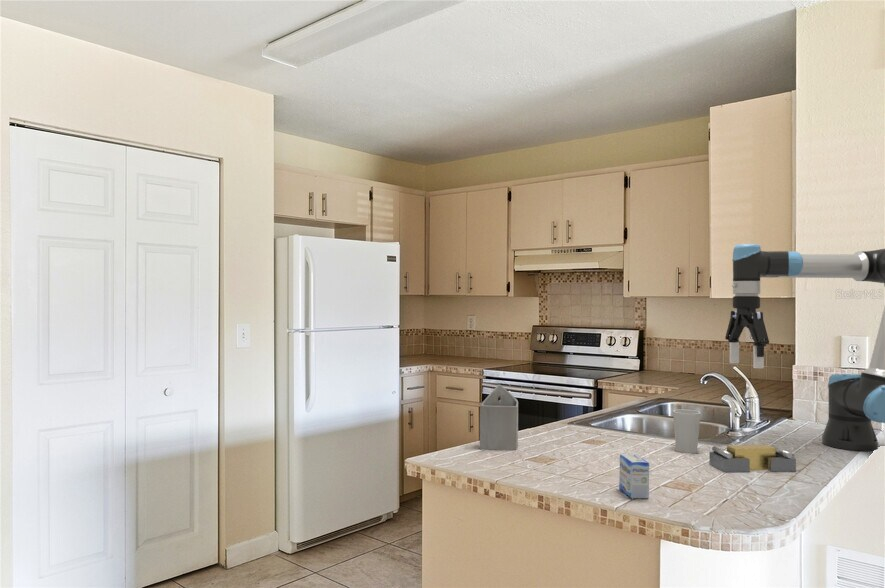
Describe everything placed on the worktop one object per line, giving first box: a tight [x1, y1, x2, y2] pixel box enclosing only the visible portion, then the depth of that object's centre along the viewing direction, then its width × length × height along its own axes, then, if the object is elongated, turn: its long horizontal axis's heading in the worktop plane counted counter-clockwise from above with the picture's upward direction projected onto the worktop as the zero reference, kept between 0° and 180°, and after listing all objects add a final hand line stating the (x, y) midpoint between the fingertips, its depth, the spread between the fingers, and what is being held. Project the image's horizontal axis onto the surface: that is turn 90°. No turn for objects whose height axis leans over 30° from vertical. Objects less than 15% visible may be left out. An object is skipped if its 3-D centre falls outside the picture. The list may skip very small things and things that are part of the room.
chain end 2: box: [767, 445, 797, 473], centre depth 176 cm, size 7×8×5 cm
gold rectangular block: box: [726, 444, 776, 471], centre depth 176 cm, size 12×4×6 cm, turn 97°
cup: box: [672, 408, 701, 454], centre depth 195 cm, size 8×8×12 cm
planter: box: [479, 384, 519, 451], centre depth 197 cm, size 16×8×19 cm, turn 129°
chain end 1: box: [708, 445, 751, 473], centre depth 175 cm, size 7×8×5 cm
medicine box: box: [618, 453, 650, 499], centre depth 151 cm, size 8×4×9 cm, turn 5°
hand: (746, 365), depth 191 cm, fingers open, 13 cm apart
